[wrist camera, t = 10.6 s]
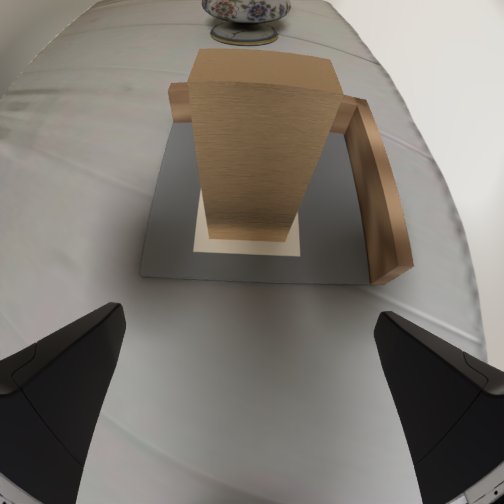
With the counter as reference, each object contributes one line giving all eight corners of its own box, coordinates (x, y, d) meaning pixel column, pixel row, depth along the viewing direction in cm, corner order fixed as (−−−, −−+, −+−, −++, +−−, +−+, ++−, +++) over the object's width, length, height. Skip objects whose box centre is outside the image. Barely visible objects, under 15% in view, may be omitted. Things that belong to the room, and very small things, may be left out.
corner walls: (383, 284, 19) (413, 266, 15) (141, 276, 18) (120, 254, 14) (352, 129, 24) (366, 99, 21) (176, 116, 24) (171, 83, 20)
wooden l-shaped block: (284, 242, 19) (343, 94, 8) (209, 238, 19) (187, 81, 8) (281, 156, 22) (312, 19, 11) (218, 153, 21) (215, 12, 10)
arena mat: (367, 284, 19) (370, 282, 18) (141, 276, 18) (138, 274, 17) (342, 137, 24) (343, 133, 23) (173, 125, 23) (172, 122, 23)
